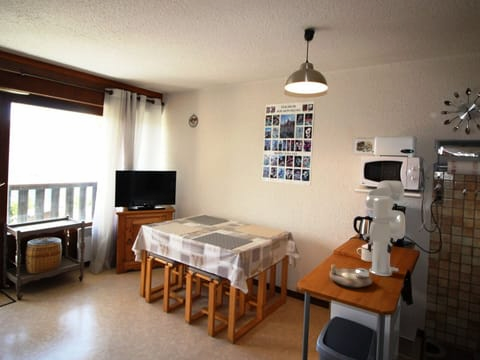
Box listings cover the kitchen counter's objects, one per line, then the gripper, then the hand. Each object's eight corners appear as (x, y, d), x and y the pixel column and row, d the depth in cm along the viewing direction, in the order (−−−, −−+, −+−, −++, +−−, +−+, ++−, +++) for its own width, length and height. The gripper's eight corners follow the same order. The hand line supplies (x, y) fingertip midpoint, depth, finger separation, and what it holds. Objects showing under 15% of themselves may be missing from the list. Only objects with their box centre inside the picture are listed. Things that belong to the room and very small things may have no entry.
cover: (367, 275, 163) (367, 268, 163) (370, 279, 156) (370, 273, 156) (354, 273, 165) (354, 267, 165) (356, 278, 158) (356, 272, 158)
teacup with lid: (376, 259, 202) (376, 242, 201) (374, 262, 194) (375, 245, 194) (357, 256, 208) (358, 240, 208) (355, 259, 201) (356, 242, 200)
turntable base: (362, 278, 168) (363, 274, 168) (368, 289, 153) (368, 285, 153) (333, 275, 172) (334, 271, 172) (336, 286, 156) (336, 282, 156)
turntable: (367, 273, 170) (368, 262, 170) (376, 288, 149) (376, 276, 149) (328, 269, 175) (328, 258, 175) (331, 284, 154) (331, 272, 154)
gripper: (396, 220, 158) (394, 251, 160) (362, 218, 163) (361, 248, 164) (400, 223, 151) (398, 255, 152) (364, 221, 155) (363, 252, 156)
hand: (379, 252), depth 158 cm, fingers open, 9 cm apart
